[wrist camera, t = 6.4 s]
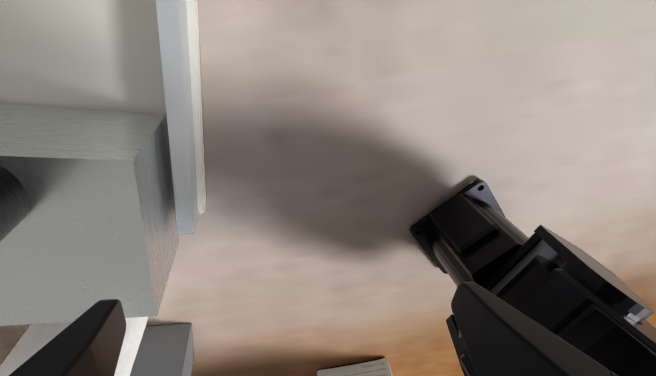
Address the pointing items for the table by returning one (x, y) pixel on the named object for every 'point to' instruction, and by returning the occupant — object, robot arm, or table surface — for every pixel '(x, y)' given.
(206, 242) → the table surface
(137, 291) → the block
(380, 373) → the supplement box
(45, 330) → the white pouch
